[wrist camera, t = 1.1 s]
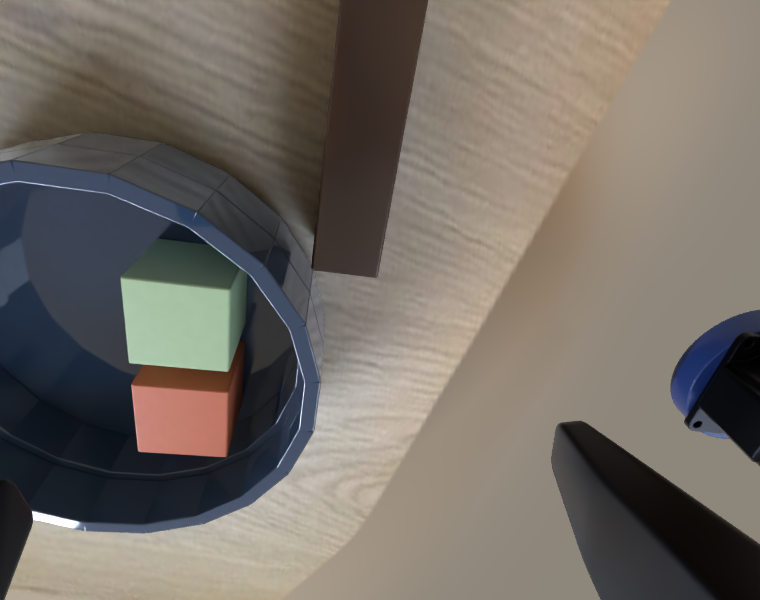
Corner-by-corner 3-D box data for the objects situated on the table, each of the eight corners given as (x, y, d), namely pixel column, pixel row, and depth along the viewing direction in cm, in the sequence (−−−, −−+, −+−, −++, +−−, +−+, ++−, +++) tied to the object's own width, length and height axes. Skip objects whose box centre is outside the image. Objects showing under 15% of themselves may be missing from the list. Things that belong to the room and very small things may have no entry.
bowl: (344, 166, 18) (345, 207, 13) (306, 453, 25) (299, 540, 21) (-106, 97, 16) (-279, 118, 11) (-8, 432, 23) (-91, 524, 18)
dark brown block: (416, -6, 15) (431, -16, 13) (372, 247, 20) (377, 278, 17) (343, -22, 15) (344, -35, 12) (314, 239, 19) (310, 270, 17)
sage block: (248, 249, 19) (230, 289, 16) (245, 323, 20) (228, 373, 17) (156, 237, 18) (119, 276, 15) (161, 314, 20) (127, 364, 17)
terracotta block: (245, 340, 21) (228, 392, 18) (242, 401, 22) (226, 458, 19) (162, 332, 20) (130, 384, 17) (165, 395, 22) (137, 452, 19)
